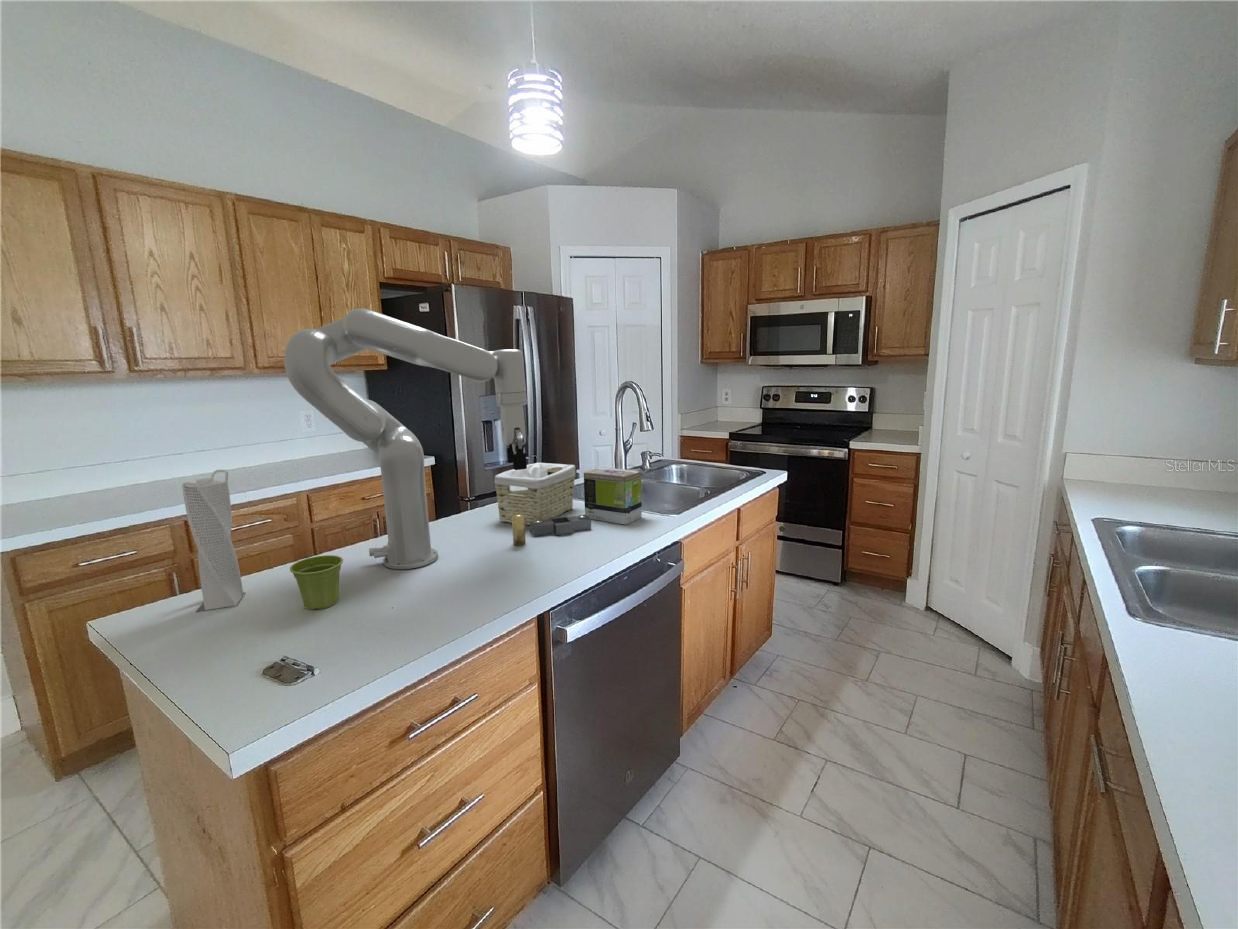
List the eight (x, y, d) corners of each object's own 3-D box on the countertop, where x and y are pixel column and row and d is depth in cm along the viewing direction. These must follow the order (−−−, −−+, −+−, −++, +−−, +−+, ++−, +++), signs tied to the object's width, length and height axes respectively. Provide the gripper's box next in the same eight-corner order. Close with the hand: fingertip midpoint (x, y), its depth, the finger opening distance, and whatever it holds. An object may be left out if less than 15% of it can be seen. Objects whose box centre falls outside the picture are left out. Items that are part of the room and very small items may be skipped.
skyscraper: (253, 593, 119) (234, 465, 113) (244, 608, 111) (222, 473, 106) (207, 599, 116) (184, 469, 110) (193, 616, 108) (169, 477, 103)
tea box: (642, 517, 169) (642, 470, 166) (625, 526, 161) (625, 476, 158) (602, 510, 177) (601, 465, 174) (583, 518, 169) (582, 471, 166)
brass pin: (514, 546, 144) (512, 517, 143) (512, 542, 147) (510, 514, 146) (526, 545, 146) (525, 515, 144) (524, 541, 148) (523, 512, 147)
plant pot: (357, 599, 114) (352, 560, 112) (312, 618, 106) (307, 576, 104) (330, 590, 119) (325, 552, 117) (285, 607, 111) (279, 567, 109)
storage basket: (536, 503, 187) (534, 460, 184) (579, 508, 180) (577, 464, 178) (494, 523, 165) (491, 475, 162) (540, 529, 159) (538, 479, 156)
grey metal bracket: (535, 538, 150) (534, 526, 150) (529, 529, 158) (528, 517, 158) (593, 531, 156) (592, 519, 155) (584, 522, 164) (584, 511, 163)
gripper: (492, 398, 145) (498, 461, 149) (501, 403, 129) (507, 474, 133) (520, 395, 148) (525, 458, 151) (532, 400, 132) (538, 470, 135)
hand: (517, 465), depth 142 cm, fingers open, 9 cm apart
